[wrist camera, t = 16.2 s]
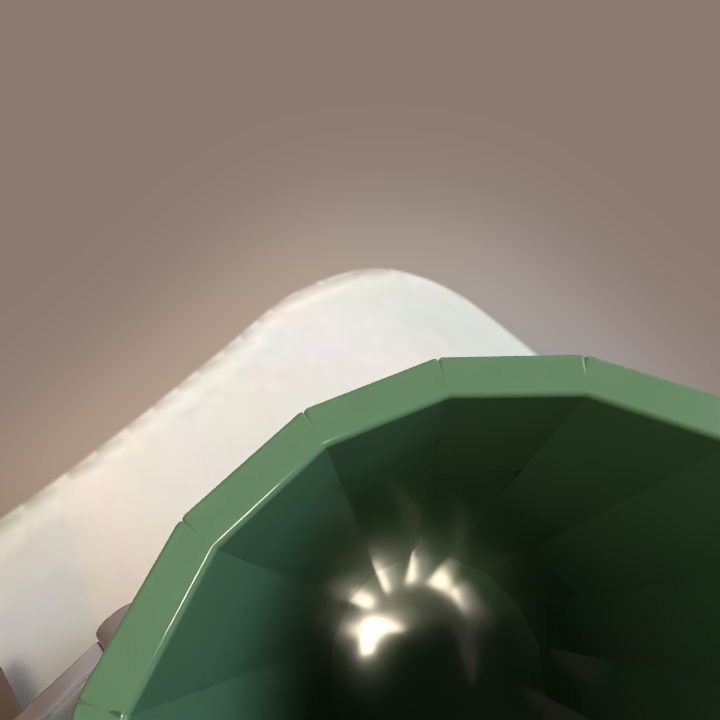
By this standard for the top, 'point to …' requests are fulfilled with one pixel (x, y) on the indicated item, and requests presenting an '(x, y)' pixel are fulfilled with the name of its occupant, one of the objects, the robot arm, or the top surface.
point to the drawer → (60, 678)
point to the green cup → (445, 559)
